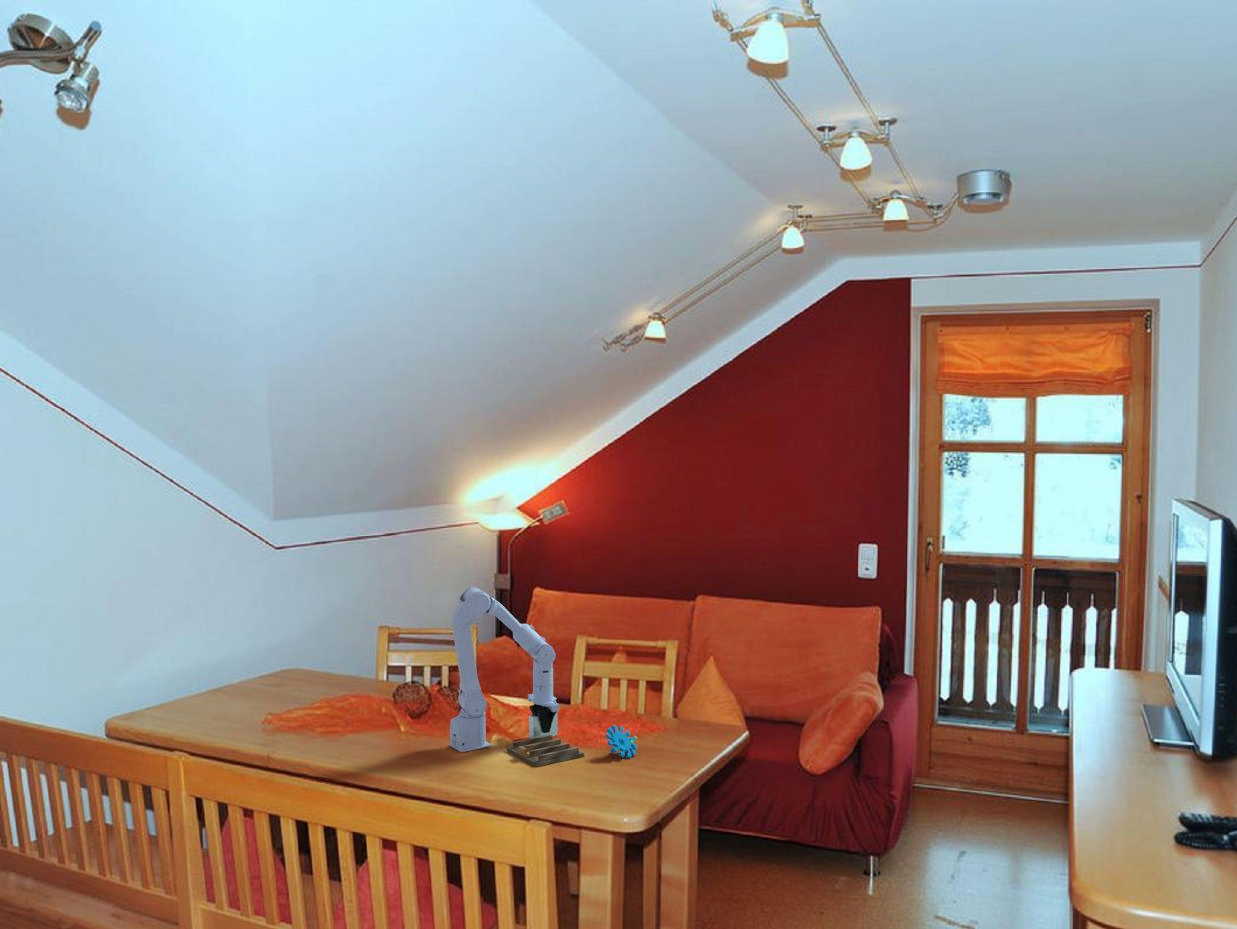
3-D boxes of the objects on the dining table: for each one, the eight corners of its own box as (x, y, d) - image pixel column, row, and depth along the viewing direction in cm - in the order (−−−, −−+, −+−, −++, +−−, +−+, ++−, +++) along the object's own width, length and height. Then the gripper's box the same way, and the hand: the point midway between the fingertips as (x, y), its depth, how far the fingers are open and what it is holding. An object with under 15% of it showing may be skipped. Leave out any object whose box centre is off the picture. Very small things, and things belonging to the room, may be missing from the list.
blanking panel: (533, 741, 294) (533, 716, 294) (529, 739, 296) (529, 714, 296) (557, 736, 299) (557, 712, 299) (553, 734, 301) (553, 710, 301)
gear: (618, 757, 275) (602, 724, 280) (606, 769, 278) (590, 737, 283) (647, 753, 283) (631, 722, 288) (634, 765, 285) (619, 734, 291)
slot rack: (535, 767, 272) (535, 755, 272) (507, 751, 285) (506, 740, 285) (584, 756, 281) (584, 745, 280) (554, 741, 294) (553, 731, 294)
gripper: (568, 687, 293) (568, 734, 294) (542, 677, 305) (542, 722, 306) (546, 691, 289) (547, 739, 290) (521, 680, 301) (521, 726, 302)
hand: (543, 731), depth 298 cm, fingers closed on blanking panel, 2 cm apart
